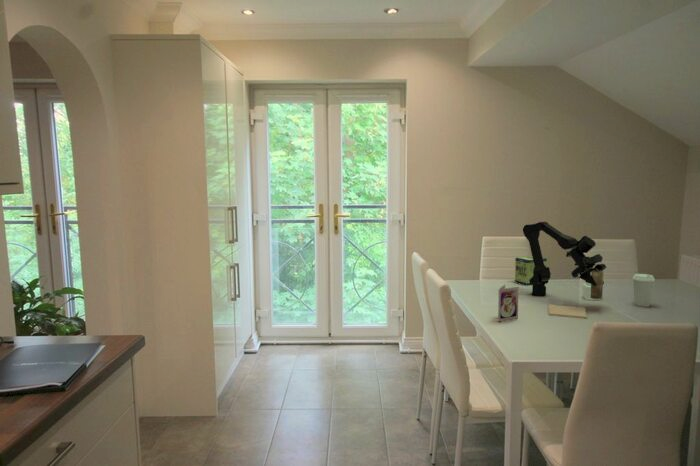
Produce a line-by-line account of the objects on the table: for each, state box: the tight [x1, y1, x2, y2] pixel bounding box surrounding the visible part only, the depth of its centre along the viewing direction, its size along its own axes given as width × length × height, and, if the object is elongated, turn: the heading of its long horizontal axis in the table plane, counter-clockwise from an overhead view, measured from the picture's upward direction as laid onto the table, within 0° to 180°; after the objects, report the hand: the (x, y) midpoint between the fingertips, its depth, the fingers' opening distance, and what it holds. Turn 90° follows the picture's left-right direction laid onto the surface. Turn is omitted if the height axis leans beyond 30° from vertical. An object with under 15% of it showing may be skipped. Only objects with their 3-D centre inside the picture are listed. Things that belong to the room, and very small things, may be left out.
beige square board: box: [548, 304, 588, 319], centre depth 220 cm, size 16×16×1 cm
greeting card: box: [497, 284, 520, 323], centre depth 211 cm, size 11×7×15 cm, turn 114°
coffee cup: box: [631, 273, 656, 308], centre depth 230 cm, size 10×10×15 cm
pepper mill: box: [591, 270, 604, 300], centre depth 222 cm, size 5×5×13 cm
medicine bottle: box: [582, 281, 602, 301], centre depth 244 cm, size 7×7×12 cm
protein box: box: [514, 255, 548, 286], centre depth 283 cm, size 10×16×16 cm
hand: (599, 284), depth 221 cm, fingers closed on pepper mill, 5 cm apart
